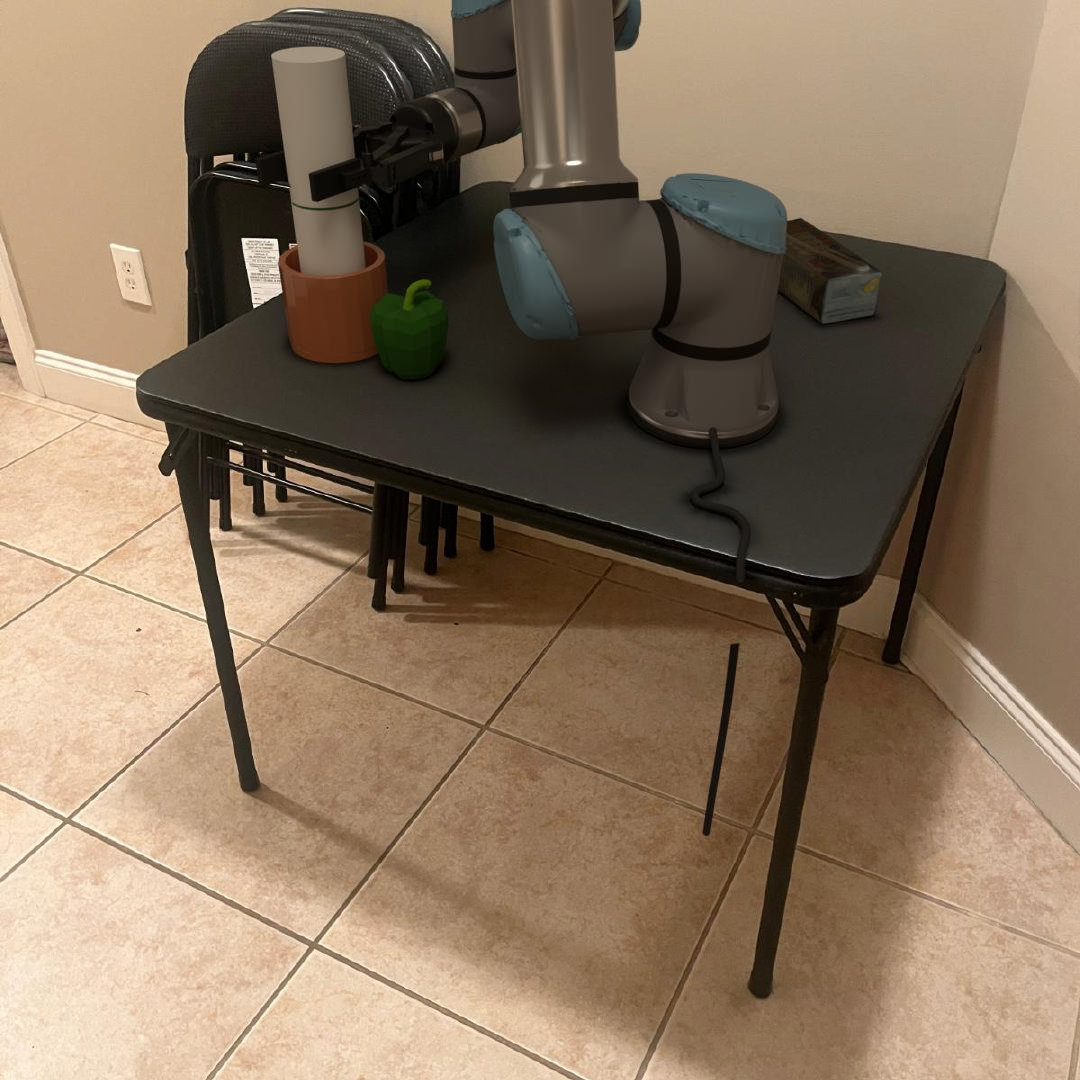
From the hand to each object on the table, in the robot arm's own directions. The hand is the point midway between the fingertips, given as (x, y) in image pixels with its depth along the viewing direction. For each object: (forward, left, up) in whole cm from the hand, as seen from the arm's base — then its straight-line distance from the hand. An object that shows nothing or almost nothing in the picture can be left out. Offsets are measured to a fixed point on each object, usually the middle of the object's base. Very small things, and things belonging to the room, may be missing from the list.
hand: (285, 180), depth 104 cm
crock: (+3, -3, -20) cm, 20 cm away
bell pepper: (-5, -11, -20) cm, 23 cm away
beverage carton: (+9, -62, -20) cm, 66 cm away
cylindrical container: (+4, -3, -14) cm, 15 cm away
